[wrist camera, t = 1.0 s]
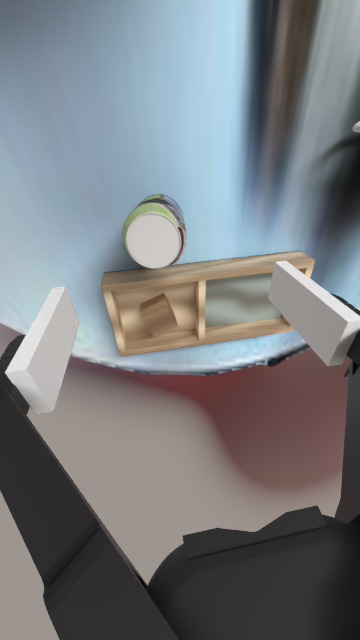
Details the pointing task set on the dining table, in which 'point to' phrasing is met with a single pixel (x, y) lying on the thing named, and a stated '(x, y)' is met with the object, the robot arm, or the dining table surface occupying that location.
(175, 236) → the beverage can
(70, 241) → the dining table surface
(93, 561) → the robot arm
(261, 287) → the walled box
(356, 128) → the mug
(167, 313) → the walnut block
